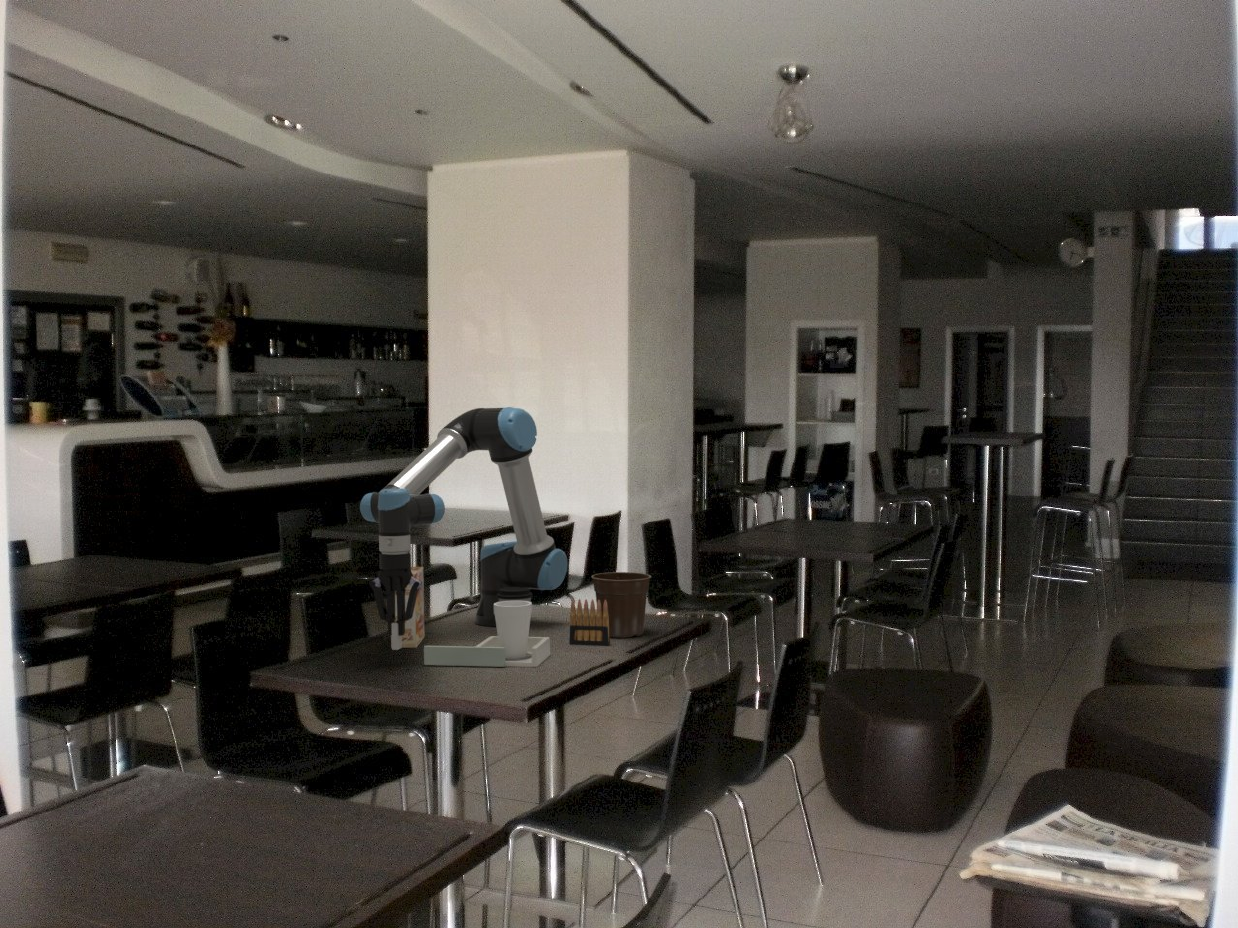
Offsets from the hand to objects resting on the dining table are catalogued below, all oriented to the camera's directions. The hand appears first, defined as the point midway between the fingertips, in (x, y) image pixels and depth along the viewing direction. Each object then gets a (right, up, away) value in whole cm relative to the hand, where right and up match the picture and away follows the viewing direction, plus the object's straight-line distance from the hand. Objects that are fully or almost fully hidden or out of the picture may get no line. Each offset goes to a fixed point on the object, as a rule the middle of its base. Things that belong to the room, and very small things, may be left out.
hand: (396, 648), depth 302 cm
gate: (+17, -4, -3) cm, 18 cm away
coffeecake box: (-2, -3, +28) cm, 29 cm away
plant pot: (+55, -2, +36) cm, 66 cm away
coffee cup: (+27, -3, +21) cm, 35 cm away
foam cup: (+28, -2, +3) cm, 28 cm away
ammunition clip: (+47, -2, +22) cm, 52 cm away
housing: (+28, -3, +3) cm, 28 cm away
